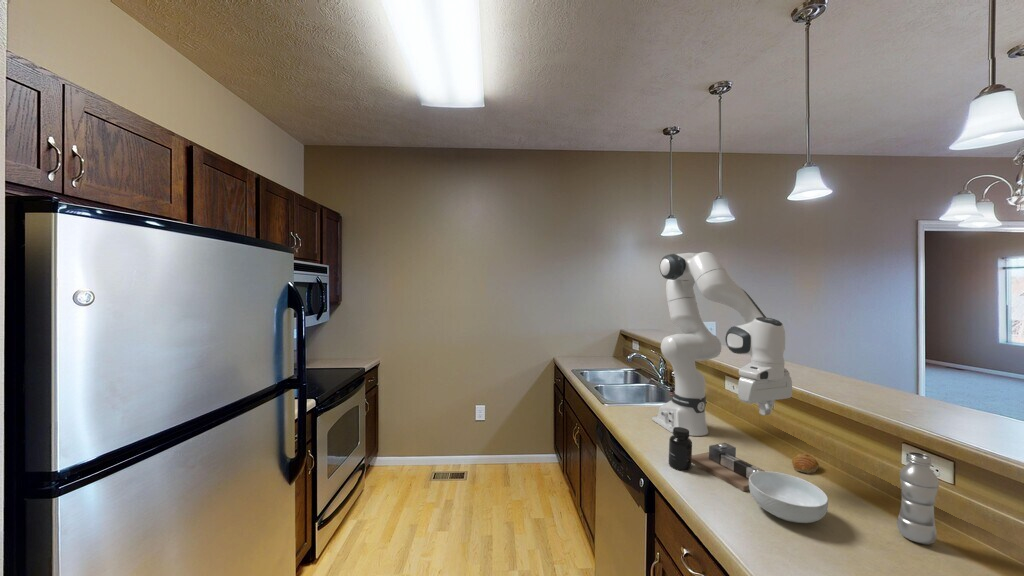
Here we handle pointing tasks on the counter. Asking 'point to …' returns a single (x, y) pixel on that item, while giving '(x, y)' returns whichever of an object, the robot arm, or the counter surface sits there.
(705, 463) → the walnut board
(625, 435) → the counter surface
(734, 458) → the loose tong arm
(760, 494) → the cereal bowl
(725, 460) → the fixed tong arm
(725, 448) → the tong hinge
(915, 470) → the plastic bottle
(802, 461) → the pastry
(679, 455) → the supplement bottle
